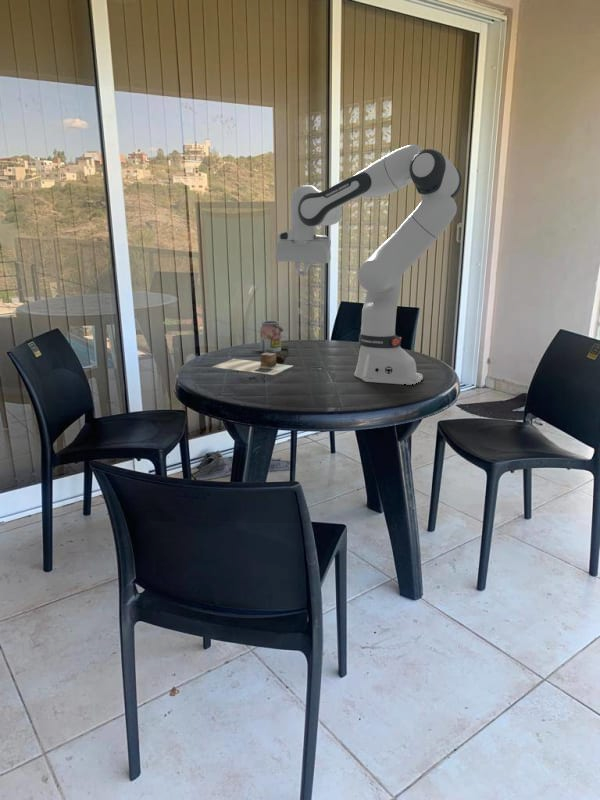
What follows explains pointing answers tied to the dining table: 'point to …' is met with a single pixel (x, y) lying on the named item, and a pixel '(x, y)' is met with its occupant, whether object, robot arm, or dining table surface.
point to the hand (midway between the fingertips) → (302, 275)
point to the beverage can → (270, 337)
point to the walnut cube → (268, 359)
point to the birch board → (252, 366)
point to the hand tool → (282, 355)
